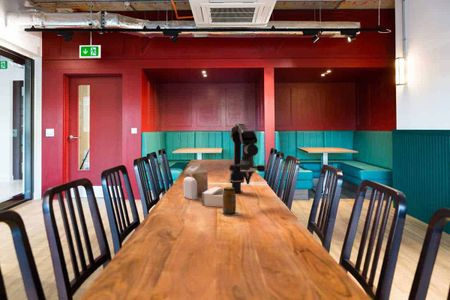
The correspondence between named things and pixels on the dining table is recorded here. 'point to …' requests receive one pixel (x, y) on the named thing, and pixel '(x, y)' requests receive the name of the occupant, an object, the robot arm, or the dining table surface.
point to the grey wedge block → (213, 197)
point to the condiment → (229, 202)
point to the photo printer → (190, 188)
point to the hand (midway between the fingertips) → (247, 184)
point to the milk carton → (198, 177)
